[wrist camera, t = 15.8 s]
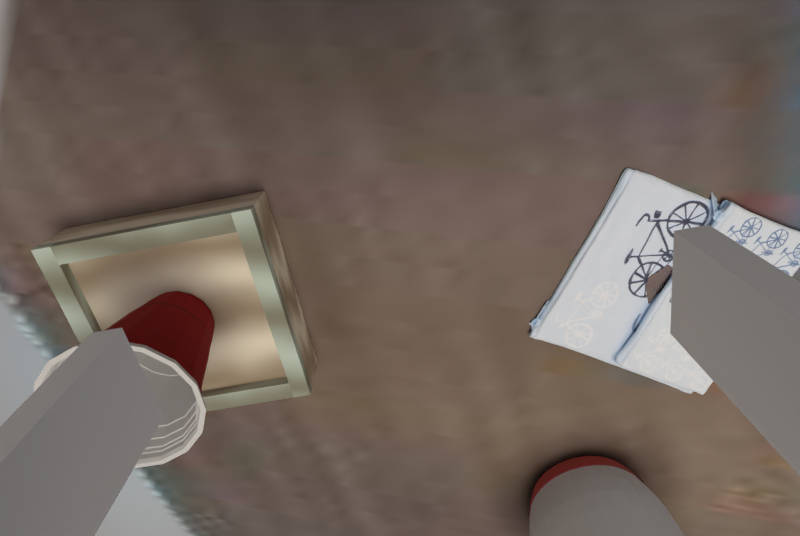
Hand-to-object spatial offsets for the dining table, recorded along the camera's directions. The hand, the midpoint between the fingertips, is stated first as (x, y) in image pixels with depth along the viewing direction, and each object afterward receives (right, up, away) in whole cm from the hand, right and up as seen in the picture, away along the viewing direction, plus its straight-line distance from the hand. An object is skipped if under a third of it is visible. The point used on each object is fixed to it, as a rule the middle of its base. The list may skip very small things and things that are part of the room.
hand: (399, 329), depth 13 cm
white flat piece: (+25, 0, +37) cm, 45 cm away
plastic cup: (-19, -3, +33) cm, 38 cm away
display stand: (-19, -1, +36) cm, 41 cm away
